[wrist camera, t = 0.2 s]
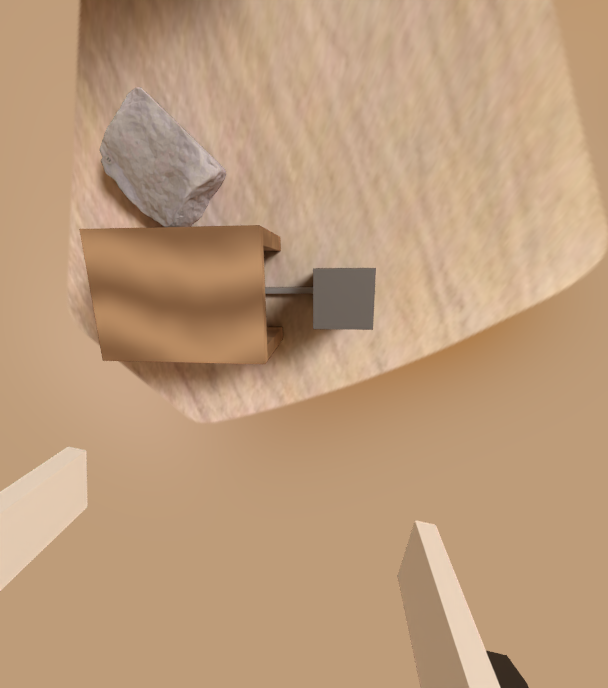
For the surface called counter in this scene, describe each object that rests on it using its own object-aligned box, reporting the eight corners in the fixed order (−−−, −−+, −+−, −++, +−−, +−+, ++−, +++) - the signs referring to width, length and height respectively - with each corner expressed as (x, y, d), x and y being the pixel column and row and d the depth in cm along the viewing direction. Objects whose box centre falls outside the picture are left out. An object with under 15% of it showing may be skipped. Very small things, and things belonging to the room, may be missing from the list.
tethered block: (175, 265, 37) (110, 264, 26) (363, 263, 35) (376, 261, 24) (180, 314, 38) (121, 332, 28) (361, 315, 36) (372, 335, 26)
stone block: (193, 240, 38) (236, 168, 33) (168, 242, 34) (213, 160, 29) (120, 172, 37) (154, 90, 33) (84, 166, 33) (118, 70, 28)
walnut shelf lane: (148, 239, 36) (79, 229, 26) (280, 237, 35) (259, 225, 25) (160, 337, 39) (102, 360, 29) (282, 338, 38) (265, 364, 28)
